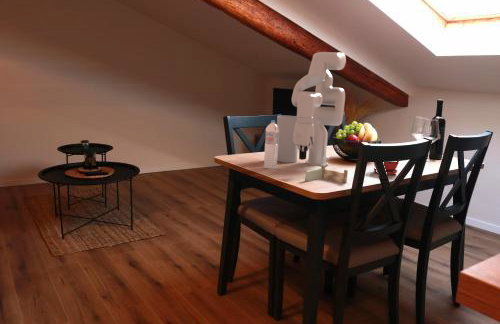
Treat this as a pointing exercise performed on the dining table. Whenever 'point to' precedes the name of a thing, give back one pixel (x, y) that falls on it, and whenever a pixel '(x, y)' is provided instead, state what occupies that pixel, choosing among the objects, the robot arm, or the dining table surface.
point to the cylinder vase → (286, 139)
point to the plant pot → (390, 167)
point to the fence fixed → (334, 175)
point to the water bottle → (271, 146)
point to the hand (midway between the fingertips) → (302, 159)
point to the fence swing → (313, 174)
